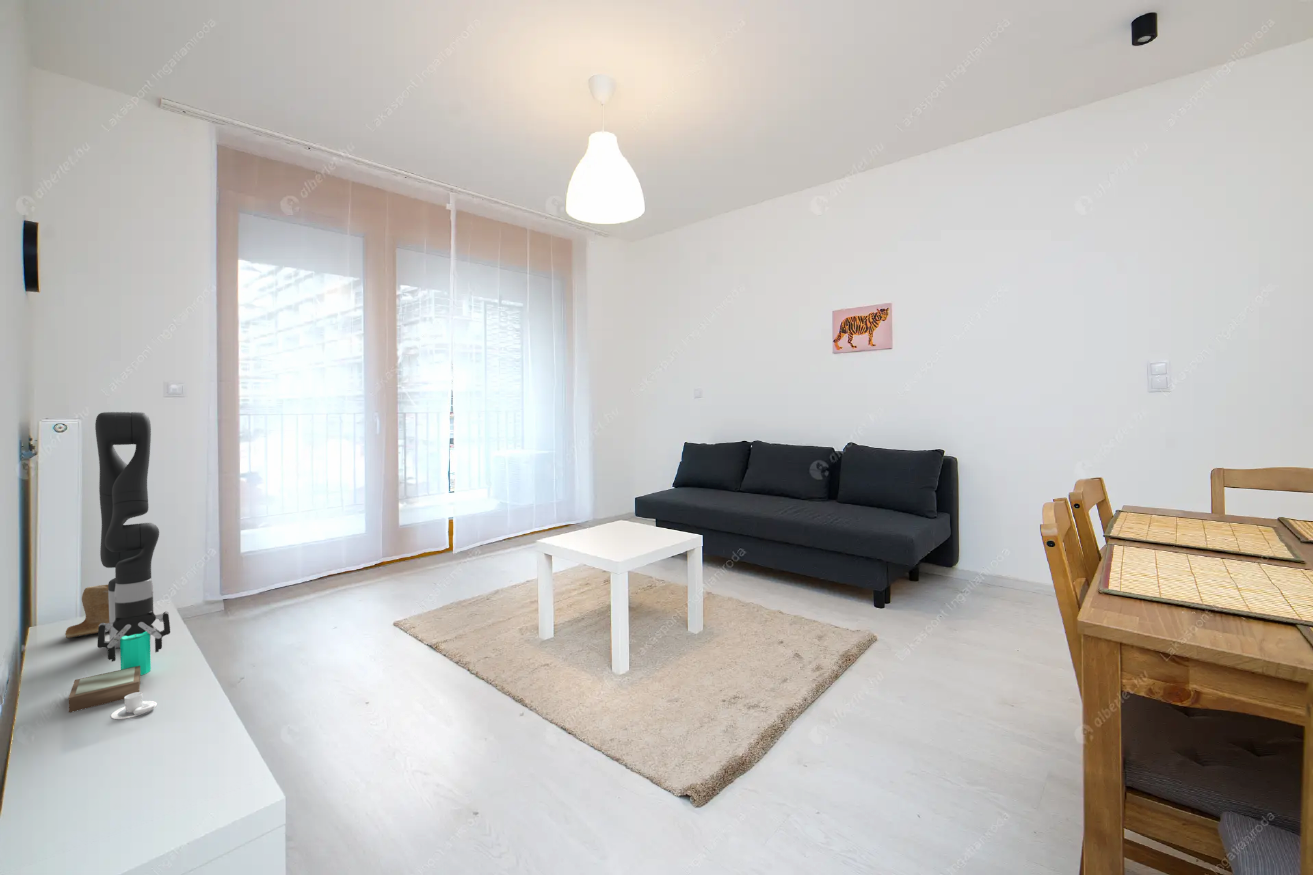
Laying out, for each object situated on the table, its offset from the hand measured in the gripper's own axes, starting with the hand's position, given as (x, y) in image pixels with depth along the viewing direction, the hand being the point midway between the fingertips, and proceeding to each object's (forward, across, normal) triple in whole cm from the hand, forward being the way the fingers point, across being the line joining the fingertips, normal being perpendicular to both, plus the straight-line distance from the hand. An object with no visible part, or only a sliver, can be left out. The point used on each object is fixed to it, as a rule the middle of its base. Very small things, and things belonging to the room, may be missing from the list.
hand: (135, 655), depth 148 cm
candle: (+5, 0, 0) cm, 5 cm away
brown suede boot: (+5, +10, -48) cm, 49 cm away
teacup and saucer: (+6, +1, +28) cm, 29 cm away
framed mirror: (+5, +5, +11) cm, 13 cm away
